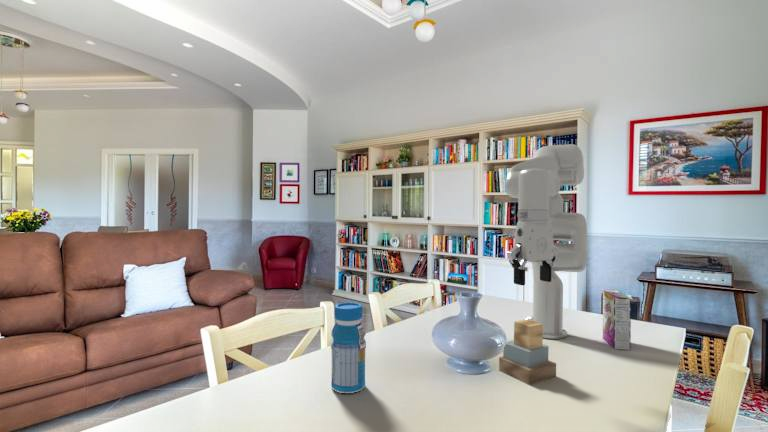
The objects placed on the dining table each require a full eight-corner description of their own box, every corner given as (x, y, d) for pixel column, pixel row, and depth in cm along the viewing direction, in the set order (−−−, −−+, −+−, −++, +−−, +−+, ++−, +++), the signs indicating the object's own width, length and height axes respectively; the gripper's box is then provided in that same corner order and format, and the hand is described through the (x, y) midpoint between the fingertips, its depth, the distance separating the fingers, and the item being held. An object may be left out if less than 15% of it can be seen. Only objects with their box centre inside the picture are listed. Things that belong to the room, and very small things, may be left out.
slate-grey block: (503, 357, 108) (503, 342, 108) (522, 352, 112) (522, 337, 112) (528, 367, 101) (528, 352, 101) (548, 361, 106) (548, 346, 105)
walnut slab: (499, 372, 108) (499, 357, 108) (525, 365, 113) (525, 351, 113) (529, 386, 99) (529, 370, 99) (555, 378, 104) (556, 363, 104)
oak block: (513, 343, 107) (514, 321, 107) (527, 341, 109) (527, 319, 109) (528, 350, 102) (529, 326, 102) (542, 346, 105) (542, 324, 105)
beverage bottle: (338, 398, 92) (338, 311, 92) (325, 384, 99) (326, 303, 99) (371, 390, 96) (371, 307, 95) (357, 377, 103) (357, 299, 103)
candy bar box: (601, 338, 135) (602, 289, 135) (617, 339, 134) (618, 290, 134) (613, 350, 124) (614, 297, 124) (631, 351, 123) (632, 297, 123)
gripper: (520, 217, 97) (520, 288, 97) (568, 217, 105) (567, 282, 106) (498, 216, 104) (497, 283, 104) (544, 216, 112) (543, 277, 112)
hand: (532, 282), depth 105 cm, fingers open, 9 cm apart
